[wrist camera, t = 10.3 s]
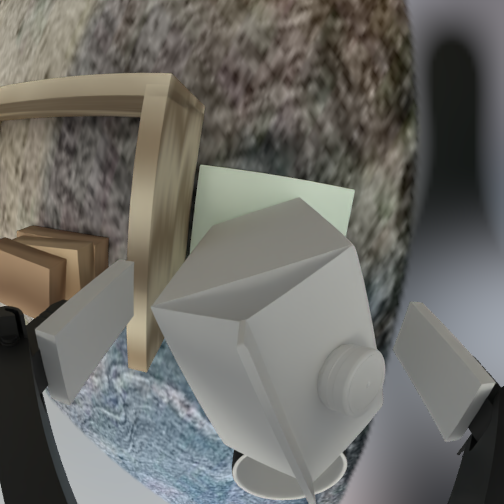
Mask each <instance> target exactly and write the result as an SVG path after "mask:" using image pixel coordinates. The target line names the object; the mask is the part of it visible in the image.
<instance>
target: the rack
mask: <svg viewBox="0 0 504 504" xmlns="http://www.w3.org/2000/svg"><path fill="white" fill-rule="evenodd" d="M204 112H205V106H204V105H203V104H202V103H201V102H200V101H199V100H198V99H197V98H196V97H195V96H194V95H193V94H192V93H191V92H190V91H189V90H188V89H187V88H186V87H185V86H184V85H183V84H182V83H181V82H180V81H179V80H178V79H177V78H176V77H175V76H174V75H173V74H172V73H115V74H95V75H81V76H69V77H60V78H51V79H43V80H36V81H29V82H23V83H17V84H12V85H6V86H1V87H0V130H1V123H2V121H6V120H17V119H30V118H46V117H74V116H118V117H141V118H140V125H139V131H138V138H137V145H136V153H135V161H134V170H133V179H132V189H131V201H130V213H129V228H128V247H127V261H132V262H134V316H133V317H132V319H131V320H130V321H129V323H128V324H127V349H128V368H131V369H135V370H139V371H143V372H147V371H148V369H149V367H150V365H151V363H152V361H153V359H154V357H155V355H156V353H157V351H158V349H159V347H160V346H161V344H162V342H163V340H164V336H163V334H162V332H161V329H160V327H159V325H158V323H157V321H156V319H155V317H154V315H153V312H152V310H151V306H152V305H153V303H154V302H155V301H156V299H157V298H158V297H159V295H160V294H161V293H162V291H163V290H164V288H165V287H166V286H167V284H168V283H169V282H170V280H171V279H172V278H173V276H174V275H175V274H176V272H177V271H178V270H179V268H180V267H181V266H182V264H183V263H184V262H185V260H186V250H187V240H188V230H189V221H190V212H191V204H192V195H193V187H194V180H195V172H196V165H197V158H198V151H199V144H200V137H201V131H202V124H203V118H204Z"/></svg>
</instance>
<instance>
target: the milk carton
mask: <svg viewBox="0 0 504 504" xmlns="http://www.w3.org/2000/svg"><path fill="white" fill-rule="evenodd" d="M151 310H152V312H153V315H154V317H155V319H156V321H157V323H158V325H159V327H160V329H161V332H162V334H163V336H164V338H165V340H166V342H167V344H168V346H169V348H170V350H171V352H172V354H173V355H174V357H175V359H176V361H177V363H178V365H179V367H180V369H181V371H182V373H183V374H184V376H185V378H186V380H187V382H188V384H189V385H190V387H191V389H192V391H193V393H194V394H195V396H196V398H197V400H198V402H199V403H200V405H201V407H202V408H203V410H204V412H205V414H206V415H207V417H208V419H209V420H210V422H211V424H212V425H213V427H214V429H215V430H216V432H217V434H218V435H219V437H220V438H221V440H222V441H223V443H224V444H225V445H227V446H229V447H231V448H233V449H234V450H236V451H238V452H240V453H242V454H244V455H246V456H248V457H250V458H252V459H254V460H256V461H258V462H261V463H263V464H265V465H267V466H269V467H271V468H274V469H276V470H278V471H280V472H283V473H285V474H287V475H290V476H292V477H294V478H296V479H297V481H298V483H299V485H300V487H301V489H302V491H303V493H304V495H305V497H306V499H307V501H308V503H309V504H316V502H315V494H314V486H313V482H314V481H315V480H316V479H317V478H318V477H319V476H320V475H321V474H322V473H323V472H324V471H325V470H326V469H327V468H328V467H329V466H330V465H331V464H332V463H333V462H334V461H335V460H336V459H337V458H338V457H339V456H340V455H341V453H342V452H343V451H344V450H345V449H346V448H347V447H348V446H349V445H350V444H351V443H352V441H353V440H354V439H355V438H356V437H357V436H358V435H359V433H360V432H361V431H362V430H363V429H364V428H365V426H366V425H367V424H368V423H369V422H370V420H371V419H372V418H373V417H374V416H375V414H376V413H377V412H378V410H379V409H380V408H381V407H382V405H383V389H382V387H383V383H384V378H385V362H384V358H383V356H382V354H381V353H380V351H378V350H377V347H376V341H375V336H374V330H373V324H372V319H371V314H370V308H369V303H368V298H367V293H366V289H365V284H364V279H363V275H362V271H361V266H360V262H359V259H358V255H357V251H356V248H355V246H354V245H353V244H352V242H351V241H350V240H349V239H348V238H347V237H345V236H344V235H343V234H342V233H341V232H340V231H339V230H338V229H336V228H335V227H334V226H333V225H332V224H331V223H329V222H328V221H327V220H326V219H325V218H324V217H323V216H321V215H320V214H319V213H318V212H317V211H315V210H314V209H313V208H312V207H311V206H310V205H308V204H307V203H306V202H305V201H304V200H302V199H301V198H300V197H298V198H295V199H292V200H289V201H286V202H282V203H279V204H276V205H273V206H270V207H267V208H264V209H261V210H257V211H254V212H251V213H248V214H245V215H242V216H239V217H236V218H233V219H230V220H227V221H224V222H221V223H218V224H215V225H213V226H212V227H211V228H210V229H209V230H208V232H207V233H206V234H205V236H204V237H203V238H202V239H201V241H200V242H199V243H198V245H197V246H196V247H195V249H194V250H193V251H192V252H191V254H190V255H189V256H188V258H187V259H186V260H185V262H184V263H183V264H182V266H181V267H180V268H179V270H178V271H177V272H176V274H175V275H174V276H173V278H172V279H171V280H170V282H169V283H168V284H167V286H166V287H165V288H164V290H163V291H162V293H161V294H160V295H159V297H158V298H157V299H156V301H155V302H154V303H153V305H152V306H151Z"/></svg>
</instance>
